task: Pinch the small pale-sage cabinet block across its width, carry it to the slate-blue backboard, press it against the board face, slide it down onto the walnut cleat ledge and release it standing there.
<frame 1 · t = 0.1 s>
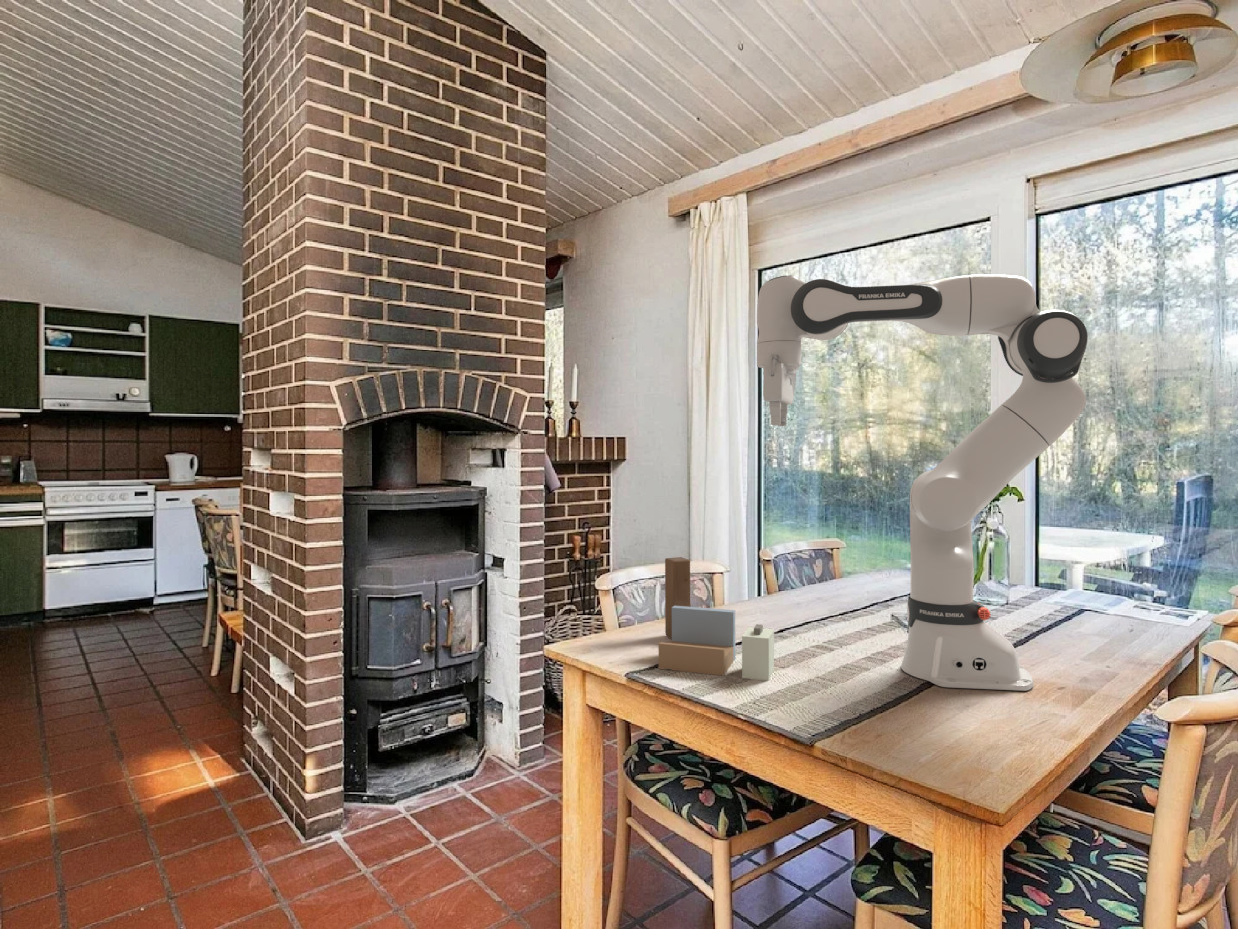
hand: (778, 425, 148), 48 cm above the table, fingers open, 8 cm apart
wooden block: (682, 640, 163), on the table
cabinet block: (758, 673, 139), on the table
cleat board: (703, 656, 150), on the table
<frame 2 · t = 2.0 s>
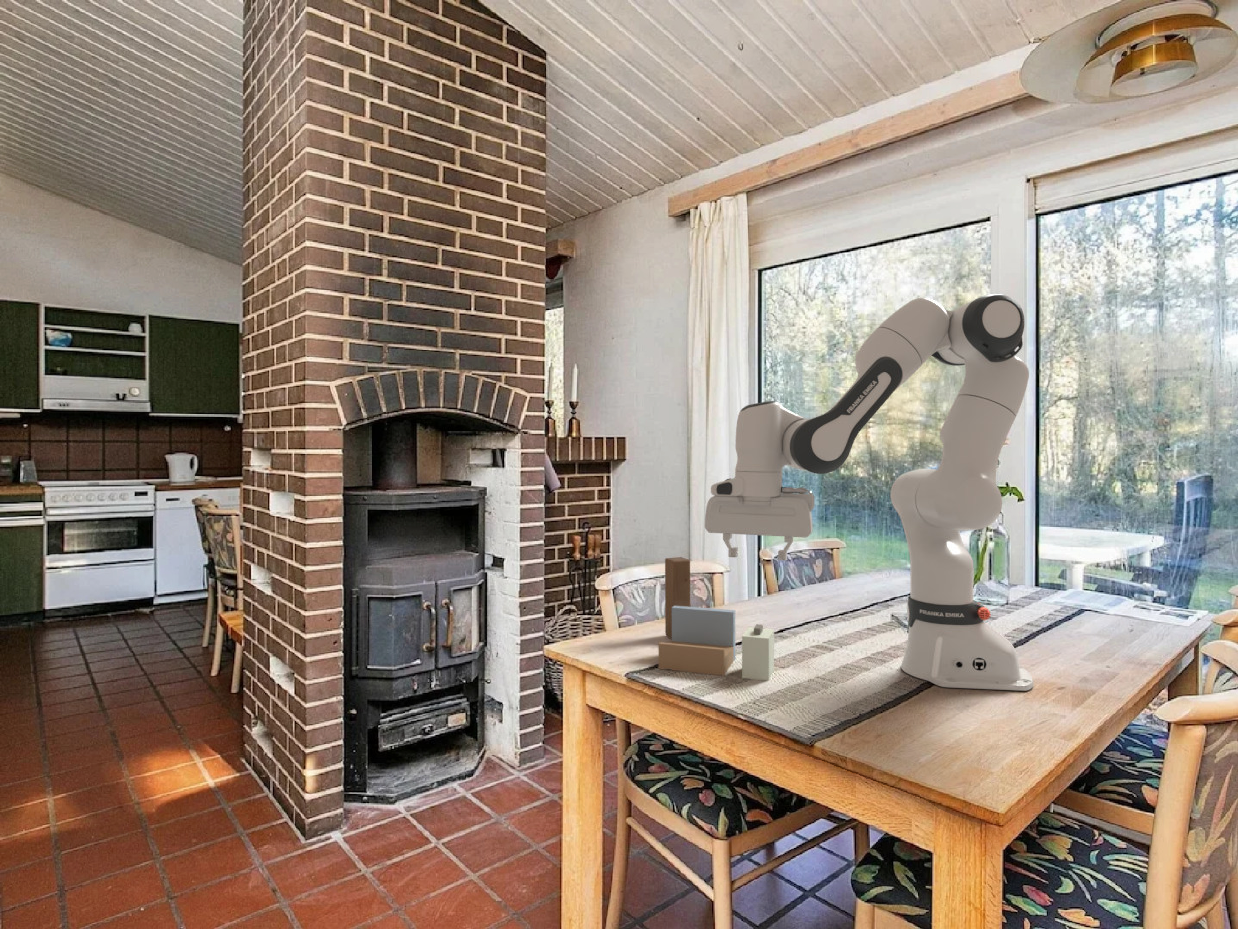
hand: (757, 558, 138), 22 cm above the table, fingers open, 8 cm apart
nothing on the table moved.
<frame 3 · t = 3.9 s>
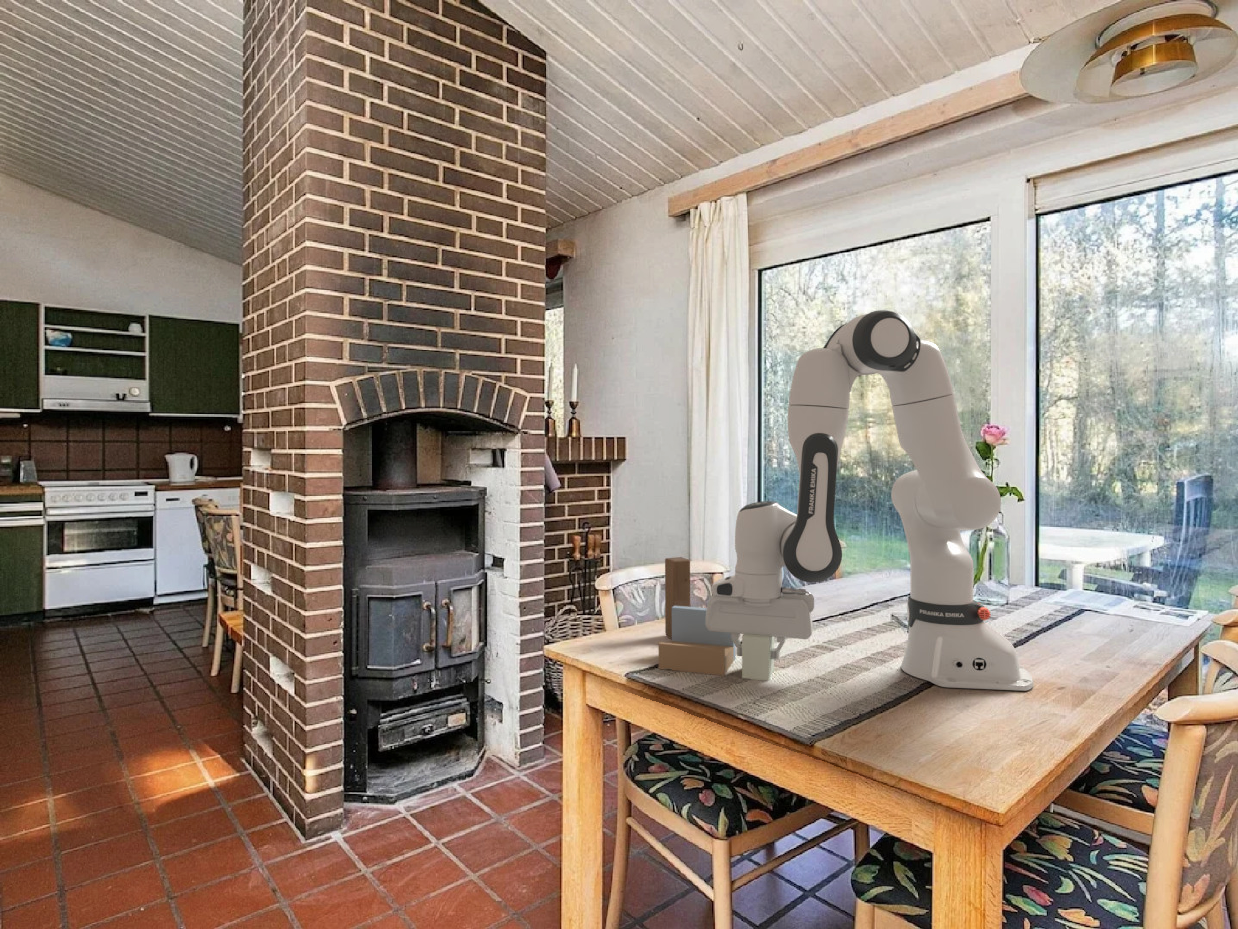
hand: (758, 657, 139), 3 cm above the table, fingers closed on cabinet block, 5 cm apart
cabinet block: (758, 673, 139), on the table, touching gripper
everything else where it was.
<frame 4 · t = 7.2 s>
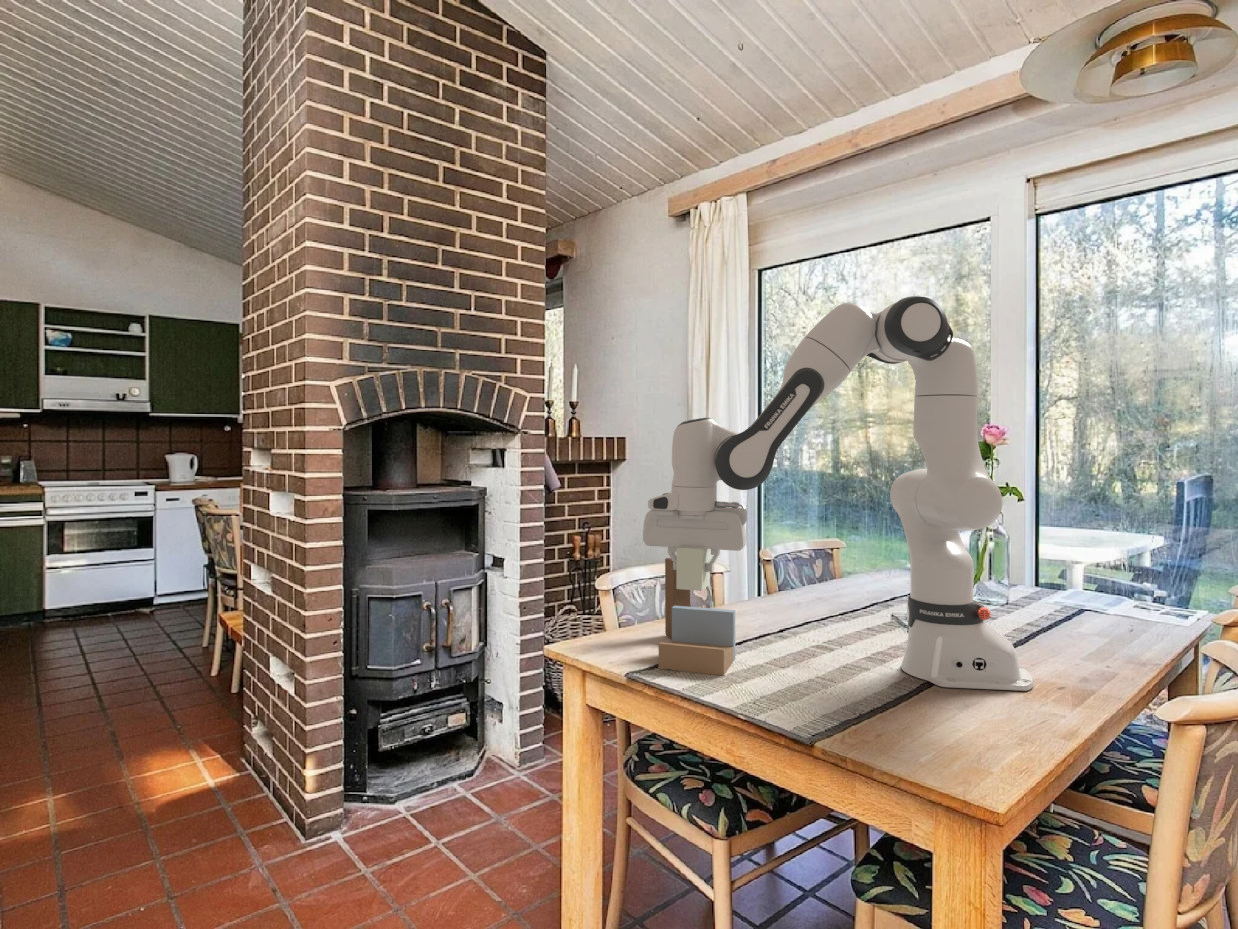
hand: (693, 570, 142), 19 cm above the table, fingers closed on cabinet block, 5 cm apart
cabinet block: (693, 586, 142), point 16 cm above the table, touching gripper
everything else where it was.
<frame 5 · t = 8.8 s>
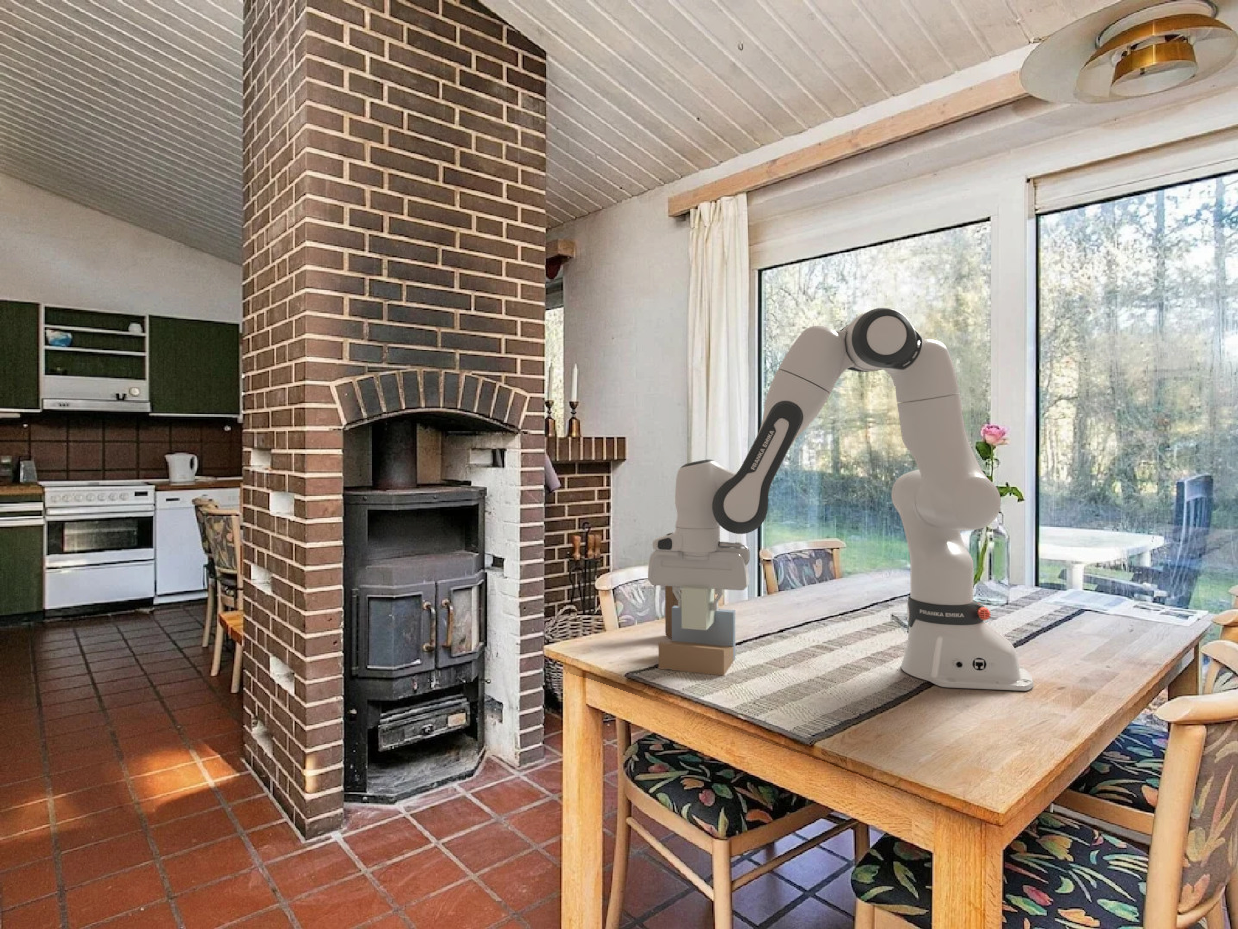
hand: (698, 609, 145), 11 cm above the table, fingers closed on cabinet block, 5 cm apart
cabinet block: (698, 624, 145), point 8 cm above the table, touching gripper
everything else where it was.
when the fingers open (7 cm above the table, at t = 10.2 s): cabinet block stays where it is, resting on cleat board.
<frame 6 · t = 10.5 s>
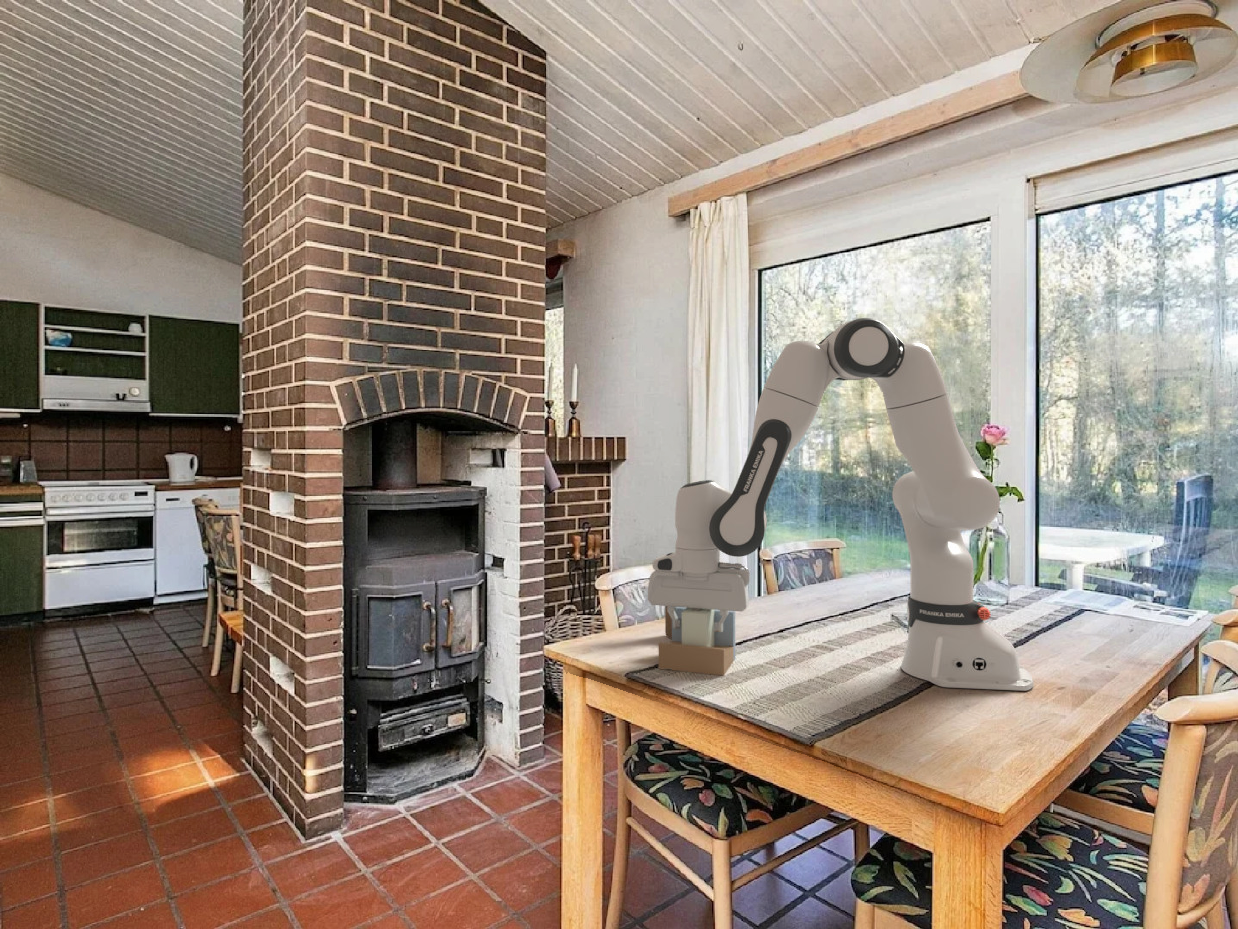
hand: (697, 629, 145), 7 cm above the table, fingers open, 7 cm apart
cabinet block: (698, 648, 145), point 3 cm above the table, touching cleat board
everything else where it was.
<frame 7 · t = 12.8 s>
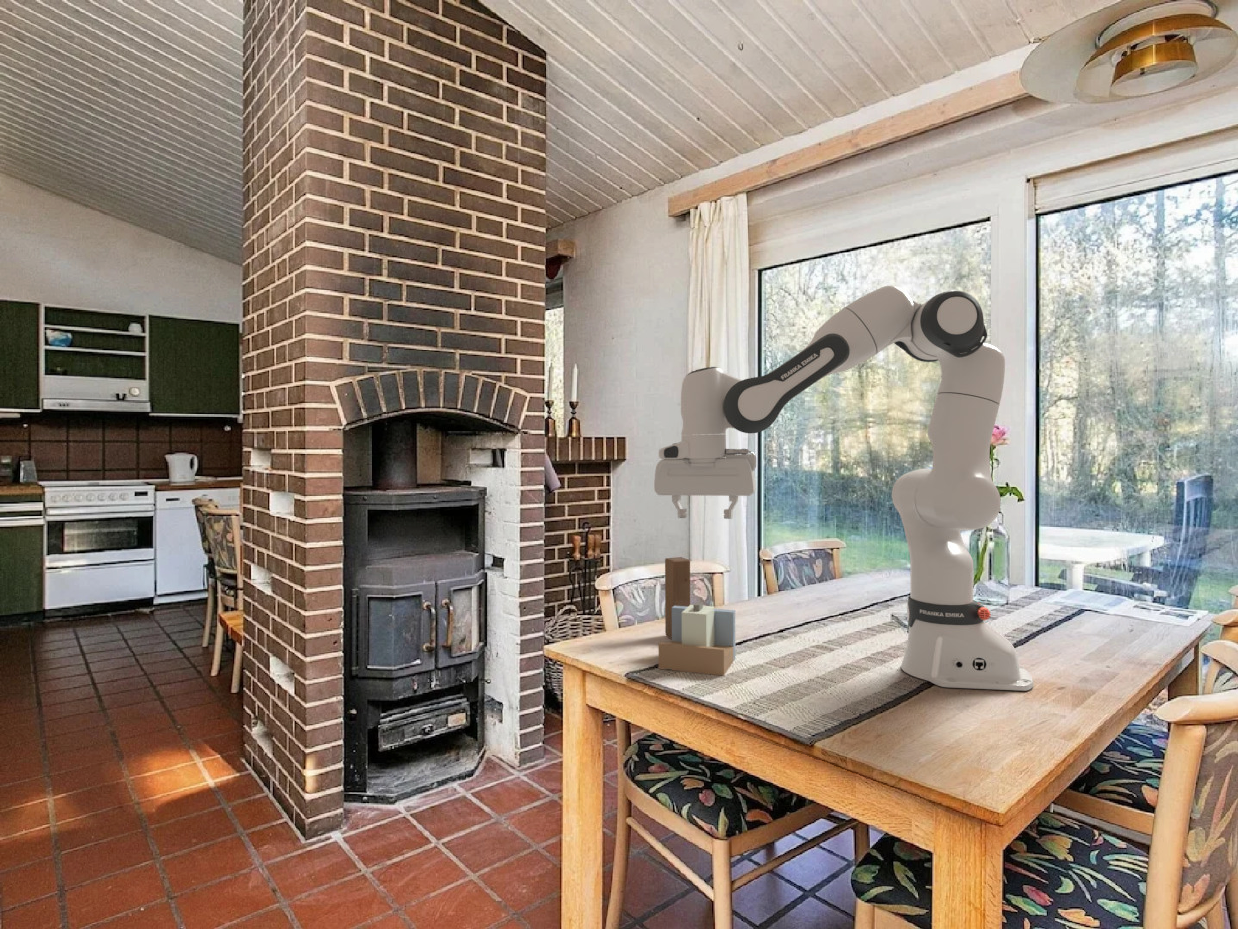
hand: (705, 518, 145), 29 cm above the table, fingers open, 8 cm apart
nothing on the table moved.
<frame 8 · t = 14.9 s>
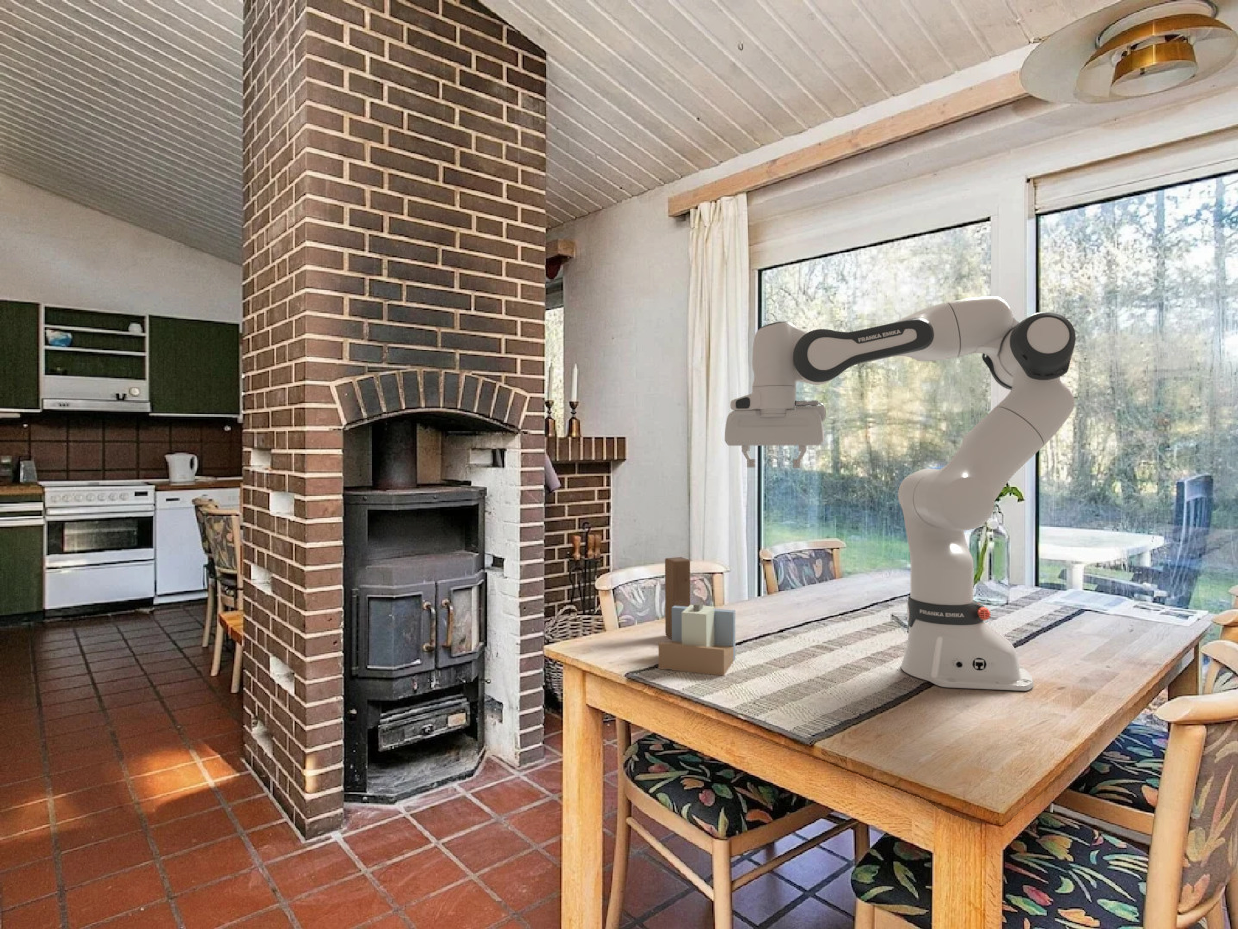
hand: (773, 467, 150), 39 cm above the table, fingers open, 8 cm apart
nothing on the table moved.
at the end: cabinet block inside the target area (0.6 cm from its centre), point 3.0 cm above the table; cabinet block touching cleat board; cabinet block tilted 0° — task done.
